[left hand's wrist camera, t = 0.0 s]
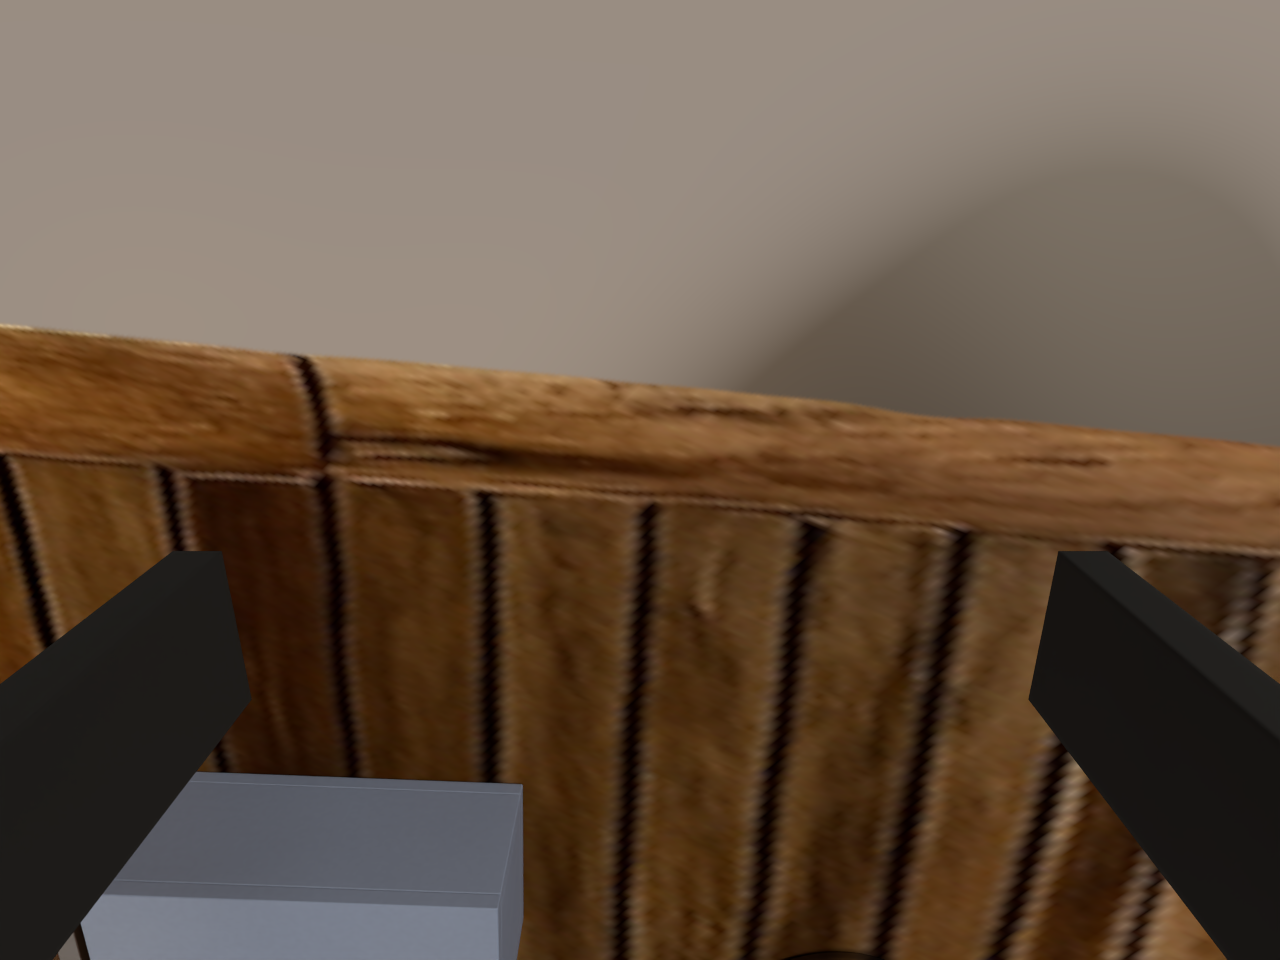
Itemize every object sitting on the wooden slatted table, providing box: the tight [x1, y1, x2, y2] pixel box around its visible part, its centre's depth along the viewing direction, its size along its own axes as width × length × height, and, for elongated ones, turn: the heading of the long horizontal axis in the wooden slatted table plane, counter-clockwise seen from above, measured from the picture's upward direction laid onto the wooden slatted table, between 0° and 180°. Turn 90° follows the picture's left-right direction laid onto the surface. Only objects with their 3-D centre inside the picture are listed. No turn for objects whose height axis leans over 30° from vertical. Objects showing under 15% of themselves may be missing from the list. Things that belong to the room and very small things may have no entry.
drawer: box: [58, 923, 90, 960], centre depth 46 cm, size 26×10×7 cm, turn 87°
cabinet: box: [81, 772, 523, 960], centre depth 46 cm, size 21×11×9 cm, turn 87°
